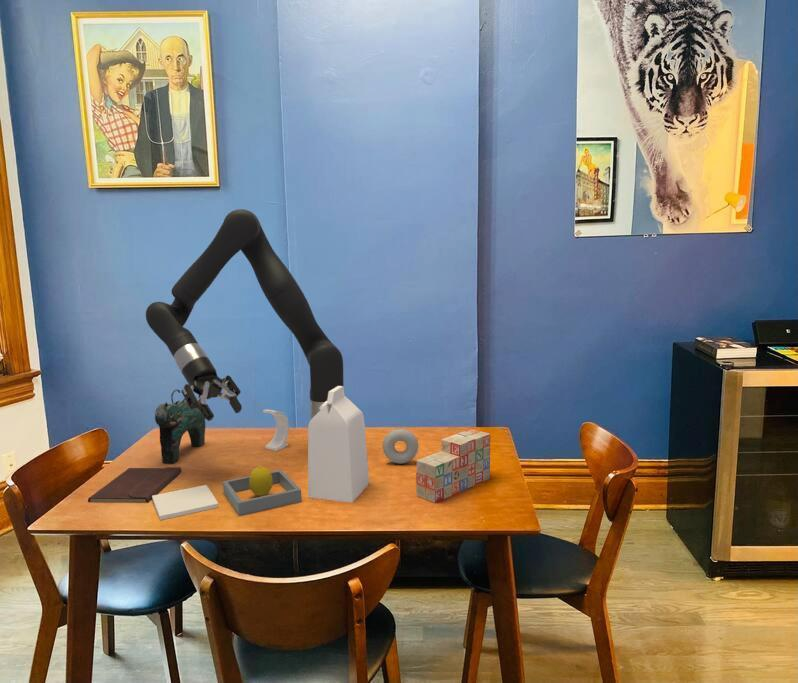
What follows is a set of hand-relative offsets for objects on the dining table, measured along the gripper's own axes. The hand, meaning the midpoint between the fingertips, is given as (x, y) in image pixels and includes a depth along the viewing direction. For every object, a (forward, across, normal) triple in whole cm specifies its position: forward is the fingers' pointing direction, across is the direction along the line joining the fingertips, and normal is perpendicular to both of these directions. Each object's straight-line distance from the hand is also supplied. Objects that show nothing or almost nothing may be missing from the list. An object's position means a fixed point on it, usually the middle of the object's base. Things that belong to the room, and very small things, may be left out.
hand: (225, 415), depth 153 cm
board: (+13, -12, +14) cm, 23 cm away
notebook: (0, -13, +28) cm, 31 cm away
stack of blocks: (+47, +32, -21) cm, 60 cm away
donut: (+32, +37, -6) cm, 50 cm away
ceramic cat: (-9, +9, +36) cm, 38 cm away
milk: (+31, +14, -4) cm, 34 cm away
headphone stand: (+4, +28, +22) cm, 36 cm away
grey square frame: (+22, 0, +5) cm, 22 cm away
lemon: (+22, 0, +5) cm, 22 cm away
